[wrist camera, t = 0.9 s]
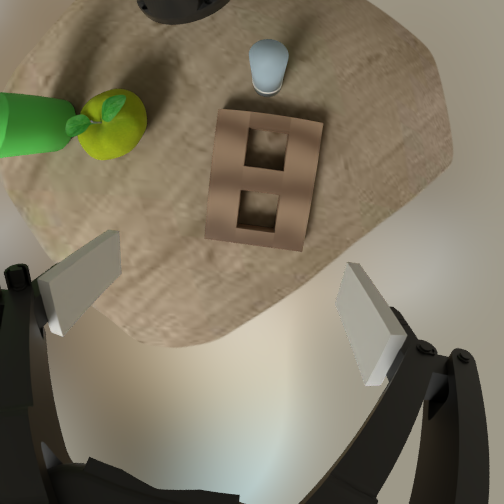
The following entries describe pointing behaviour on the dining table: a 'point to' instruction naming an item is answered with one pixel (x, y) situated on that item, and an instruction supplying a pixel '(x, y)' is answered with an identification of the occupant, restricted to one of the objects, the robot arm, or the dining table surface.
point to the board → (262, 179)
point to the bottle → (32, 124)
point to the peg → (268, 66)
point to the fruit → (109, 124)
